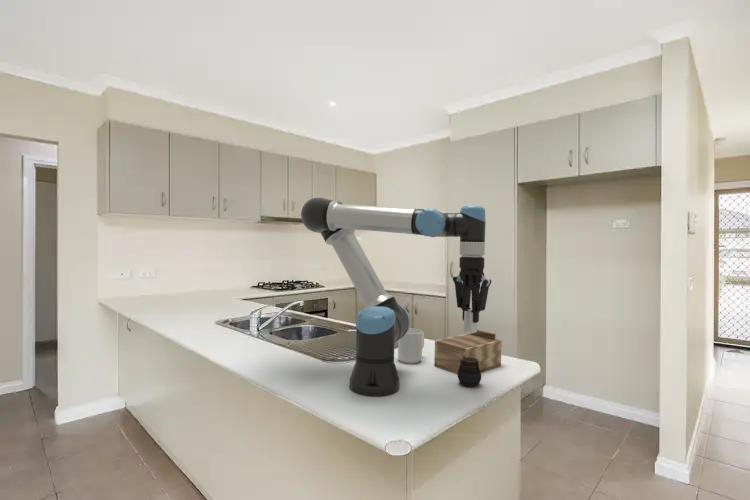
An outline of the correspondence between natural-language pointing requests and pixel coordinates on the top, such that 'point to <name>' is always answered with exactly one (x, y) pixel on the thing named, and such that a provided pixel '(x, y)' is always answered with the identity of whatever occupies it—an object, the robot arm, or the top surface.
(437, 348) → the wooden box
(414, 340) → the mug
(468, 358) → the mate gourd
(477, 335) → the lid
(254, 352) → the top surface
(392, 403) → the top surface
